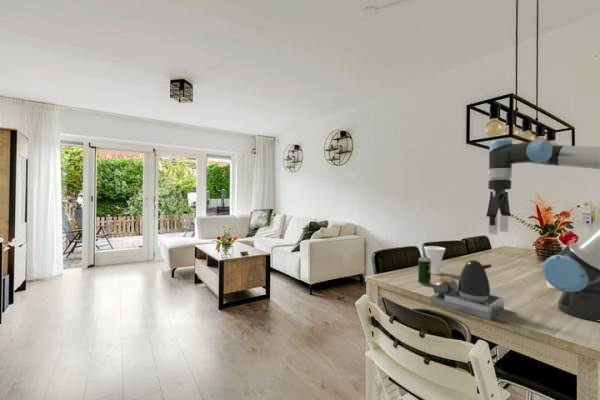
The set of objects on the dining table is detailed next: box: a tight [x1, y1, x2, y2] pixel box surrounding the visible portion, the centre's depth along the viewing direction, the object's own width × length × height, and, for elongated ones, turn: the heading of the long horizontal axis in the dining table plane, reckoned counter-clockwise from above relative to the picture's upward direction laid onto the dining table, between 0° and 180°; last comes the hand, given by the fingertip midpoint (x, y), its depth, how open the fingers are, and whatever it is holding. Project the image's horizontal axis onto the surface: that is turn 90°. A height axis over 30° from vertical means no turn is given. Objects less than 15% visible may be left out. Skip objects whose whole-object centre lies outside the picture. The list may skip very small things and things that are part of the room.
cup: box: [423, 245, 446, 275], centre depth 154 cm, size 10×10×14 cm
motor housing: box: [429, 275, 505, 321], centre depth 108 cm, size 20×15×9 cm
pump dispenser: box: [457, 259, 492, 304], centre depth 106 cm, size 10×10×15 cm
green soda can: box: [417, 256, 432, 286], centre depth 135 cm, size 5×5×12 cm
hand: (498, 232), depth 116 cm, fingers open, 13 cm apart
